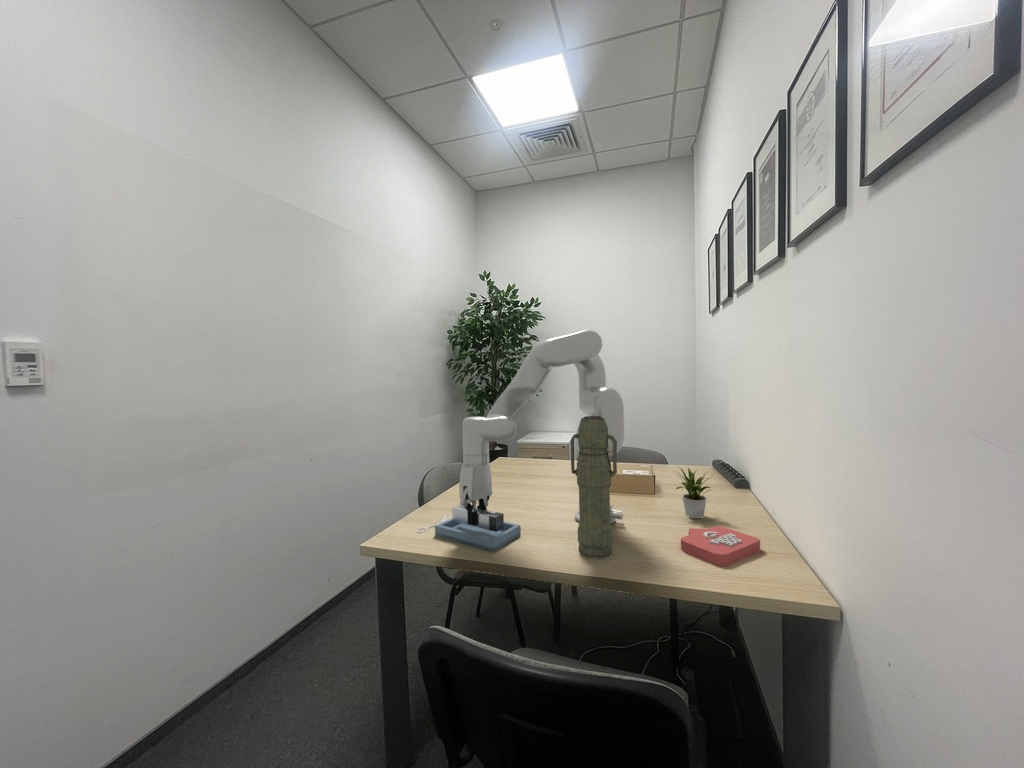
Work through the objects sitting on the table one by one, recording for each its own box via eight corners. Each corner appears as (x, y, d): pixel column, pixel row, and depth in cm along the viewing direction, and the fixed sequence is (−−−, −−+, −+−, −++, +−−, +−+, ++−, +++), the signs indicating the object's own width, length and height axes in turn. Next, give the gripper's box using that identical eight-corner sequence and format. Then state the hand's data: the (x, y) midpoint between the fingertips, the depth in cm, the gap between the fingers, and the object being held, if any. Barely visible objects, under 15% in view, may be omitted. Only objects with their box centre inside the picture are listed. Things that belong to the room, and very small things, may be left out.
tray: (520, 535, 113) (520, 525, 113) (493, 552, 102) (493, 540, 102) (464, 522, 125) (464, 512, 125) (435, 535, 114) (434, 525, 114)
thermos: (620, 560, 97) (617, 418, 96) (571, 556, 99) (569, 418, 99) (618, 545, 105) (615, 415, 105) (573, 542, 108) (571, 415, 108)
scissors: (412, 533, 116) (438, 511, 135) (412, 536, 116) (438, 513, 135) (446, 535, 114) (468, 512, 133) (446, 538, 114) (468, 514, 133)
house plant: (657, 512, 131) (656, 463, 131) (687, 506, 137) (686, 459, 137) (693, 526, 118) (692, 472, 118) (724, 518, 124) (723, 467, 124)
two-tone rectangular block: (503, 527, 111) (503, 513, 111) (496, 531, 108) (496, 517, 108) (460, 517, 120) (460, 504, 120) (452, 521, 117) (452, 507, 117)
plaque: (709, 520, 114) (763, 537, 101) (709, 533, 114) (763, 552, 101) (668, 532, 105) (721, 553, 92) (668, 547, 105) (722, 570, 92)
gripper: (483, 453, 123) (484, 512, 123) (446, 463, 109) (448, 529, 109) (503, 455, 119) (504, 516, 119) (467, 466, 105) (468, 534, 105)
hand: (477, 521), depth 114 cm, fingers closed on two-tone rectangular block, 3 cm apart
